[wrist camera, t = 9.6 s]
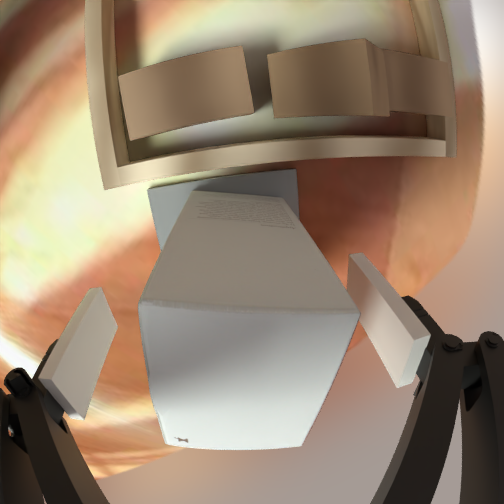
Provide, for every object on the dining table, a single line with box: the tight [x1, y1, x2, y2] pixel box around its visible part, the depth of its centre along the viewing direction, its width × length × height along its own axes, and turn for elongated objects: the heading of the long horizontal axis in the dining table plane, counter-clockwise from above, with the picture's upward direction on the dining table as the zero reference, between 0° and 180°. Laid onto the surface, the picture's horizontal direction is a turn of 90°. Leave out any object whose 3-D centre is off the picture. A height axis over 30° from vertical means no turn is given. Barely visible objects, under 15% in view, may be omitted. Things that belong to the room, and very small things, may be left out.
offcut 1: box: [118, 46, 254, 141], centre depth 15 cm, size 7×4×4 cm, turn 99°
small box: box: [138, 191, 361, 450], centre depth 15 cm, size 8×6×13 cm
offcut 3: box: [381, 49, 453, 117], centre depth 15 cm, size 7×4×4 cm, turn 96°
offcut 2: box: [267, 39, 390, 118], centre depth 14 cm, size 6×4×3 cm
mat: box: [147, 168, 300, 251], centre depth 21 cm, size 10×10×1 cm
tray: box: [85, 0, 457, 190], centre depth 10 cm, size 24×18×10 cm
